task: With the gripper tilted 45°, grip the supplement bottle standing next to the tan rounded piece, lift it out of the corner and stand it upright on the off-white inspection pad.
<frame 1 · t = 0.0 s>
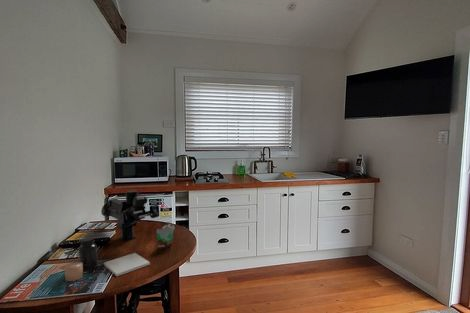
hand: (149, 217, 129), 17 cm above the table, tool horizontal, fingers open, 9 cm apart
food container: (168, 245, 137), on the table
inspection pad: (126, 264, 116), on the table
tan rounded piece: (74, 277, 105), on the table
supplement bottle: (88, 267, 114), on the table
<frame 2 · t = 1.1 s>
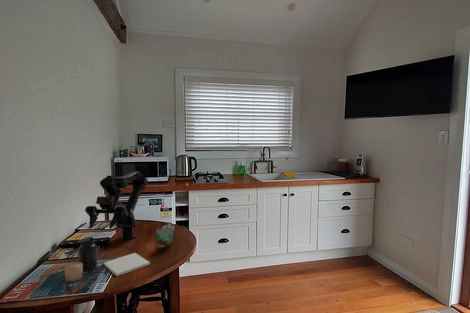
hand: (100, 228, 121), 14 cm above the table, tool tilted 45°, fingers open, 9 cm apart
nothing on the table moved.
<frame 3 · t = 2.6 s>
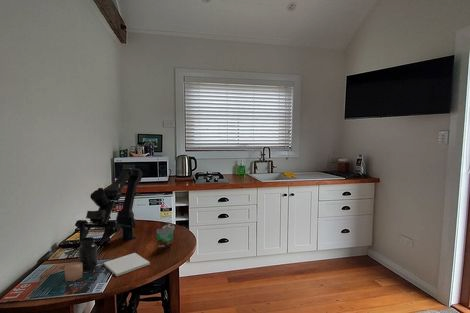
hand: (90, 244, 115), 9 cm above the table, tool tilted 45°, fingers open, 9 cm apart
nothing on the table moved.
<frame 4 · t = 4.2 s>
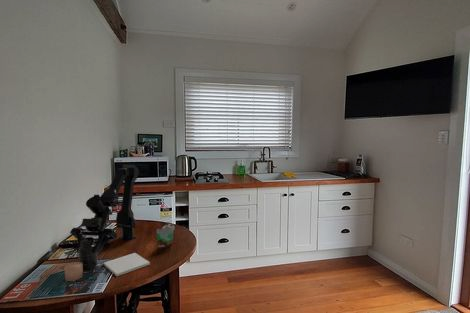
hand: (85, 252, 112), 7 cm above the table, tool tilted 45°, fingers closed on supplement bottle, 7 cm apart
supplement bottle: (88, 267, 114), on the table, touching gripper
everything else where it was.
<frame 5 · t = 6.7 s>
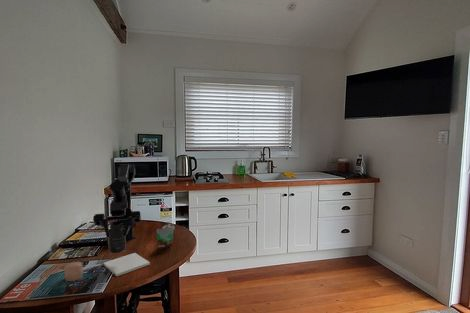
hand: (116, 236, 113), 13 cm above the table, tool tilted 45°, fingers closed on supplement bottle, 7 cm apart
supplement bottle: (117, 250, 115), point 6 cm above the table, touching gripper
everything else where it was.
when the fingers open (9 cm above the table, at t = 9.0 s): supplement bottle drops 1 cm, resting on inspection pad.
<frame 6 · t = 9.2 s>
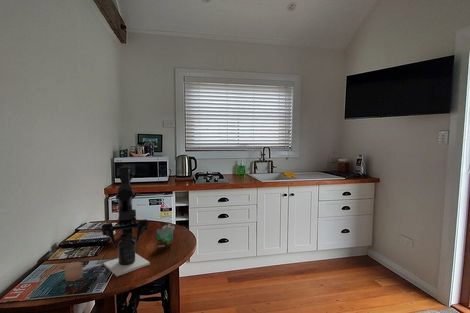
hand: (126, 245, 114), 9 cm above the table, tool tilted 45°, fingers open, 9 cm apart
supplement bottle: (127, 262, 116), point 1 cm above the table, touching inspection pad
everything else where it was.
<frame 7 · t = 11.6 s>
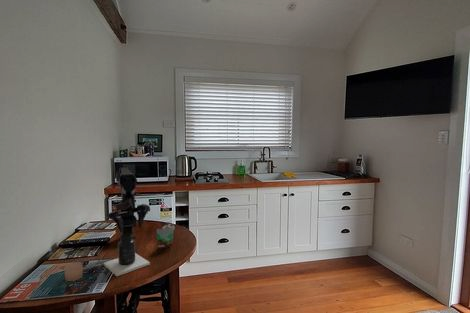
hand: (130, 230, 127), 11 cm above the table, tool tilted 30°, fingers open, 9 cm apart
nothing on the table moved.
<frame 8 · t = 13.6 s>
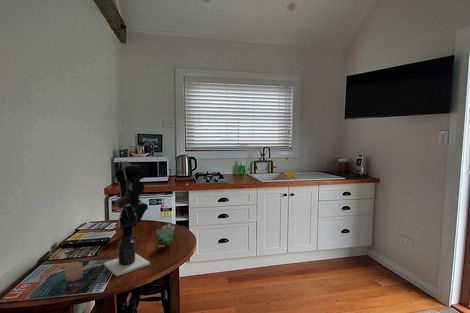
hand: (133, 221, 134), 13 cm above the table, tool pointing down, fingers open, 9 cm apart
nothing on the table moved.
at the end: supplement bottle inside the target area on the inspection pad (0.2 cm from its centre), point 0.8 cm above the inspection pad's base; supplement bottle tilted 0°; the gripper is holding nothing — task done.
